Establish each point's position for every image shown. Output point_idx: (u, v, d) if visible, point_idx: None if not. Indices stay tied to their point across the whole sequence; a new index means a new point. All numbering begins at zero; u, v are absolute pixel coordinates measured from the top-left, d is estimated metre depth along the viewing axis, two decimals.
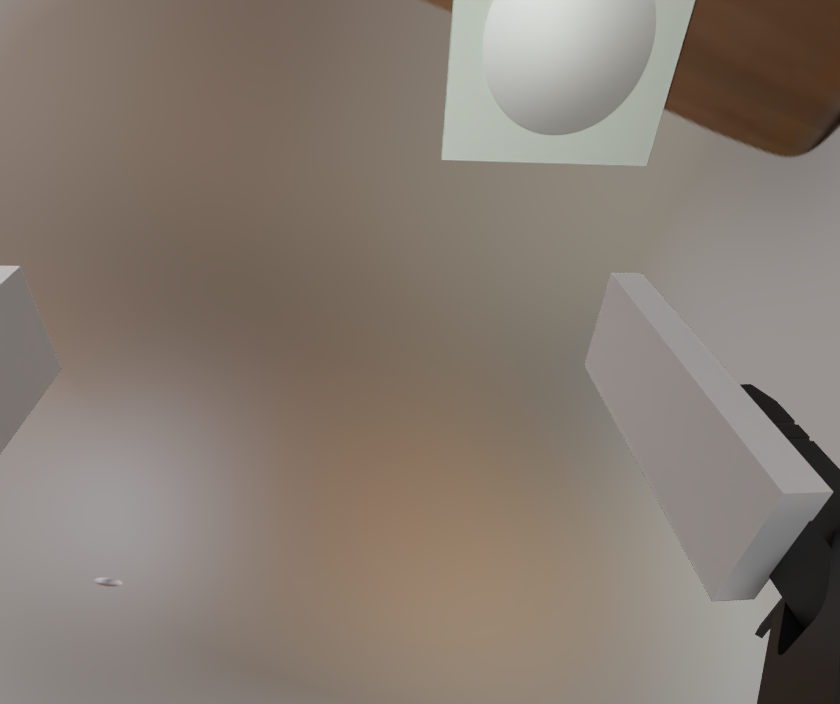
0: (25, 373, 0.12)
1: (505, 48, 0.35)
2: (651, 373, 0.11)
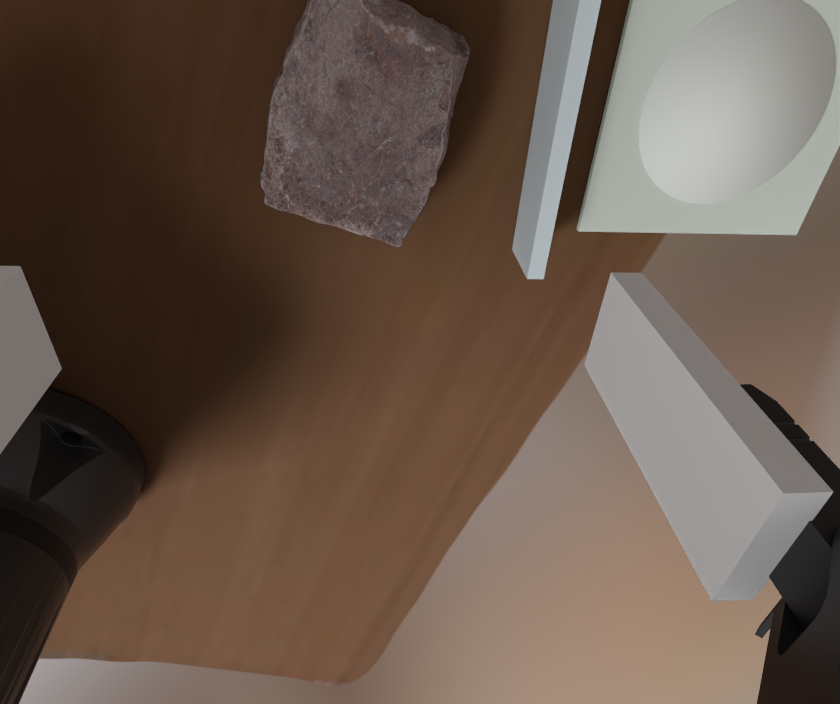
0: (25, 373, 0.12)
1: (716, 179, 0.34)
2: (651, 373, 0.11)
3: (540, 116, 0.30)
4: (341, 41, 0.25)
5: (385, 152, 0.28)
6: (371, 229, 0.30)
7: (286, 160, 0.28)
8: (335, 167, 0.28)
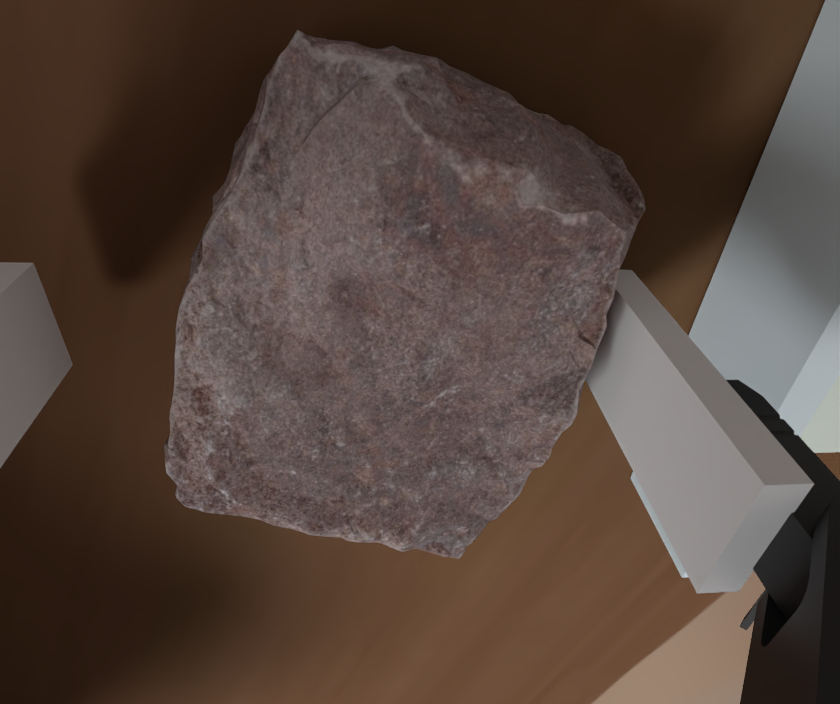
0: (38, 369, 0.12)
1: None
2: (639, 368, 0.11)
3: (738, 293, 0.14)
4: (346, 199, 0.10)
5: (440, 411, 0.13)
6: (404, 540, 0.14)
7: (220, 427, 0.12)
8: (329, 437, 0.13)
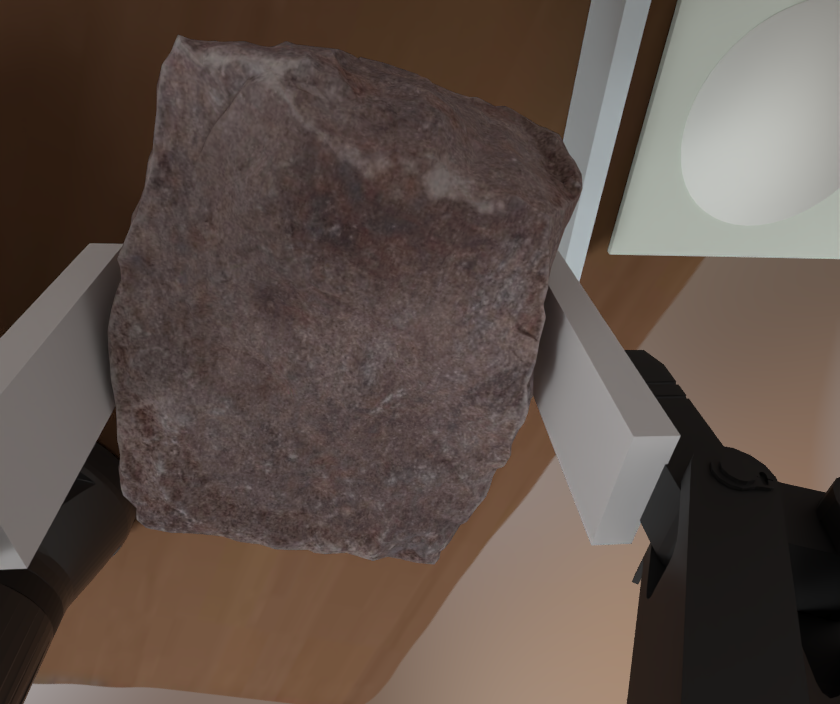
0: None
1: (764, 199, 0.31)
2: (553, 341, 0.12)
3: (573, 130, 0.27)
4: (249, 206, 0.09)
5: (389, 416, 0.12)
6: (372, 549, 0.14)
7: (169, 447, 0.12)
8: (281, 450, 0.13)
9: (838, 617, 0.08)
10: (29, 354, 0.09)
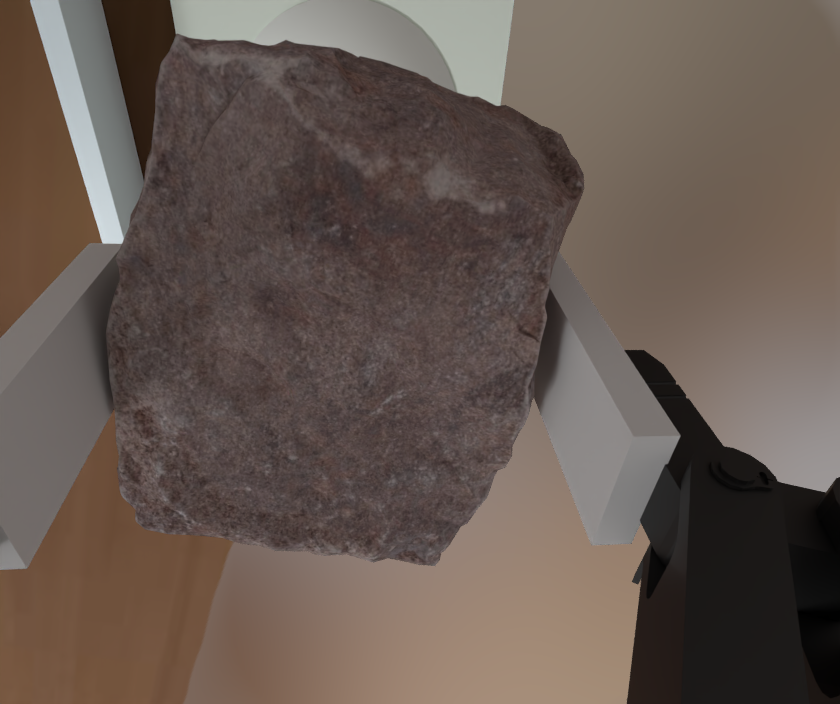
0: None
1: None
2: (553, 341, 0.12)
3: None
4: (249, 206, 0.09)
5: (390, 418, 0.12)
6: (373, 551, 0.14)
7: (168, 448, 0.12)
8: (280, 451, 0.12)
9: (838, 617, 0.08)
10: (29, 354, 0.09)
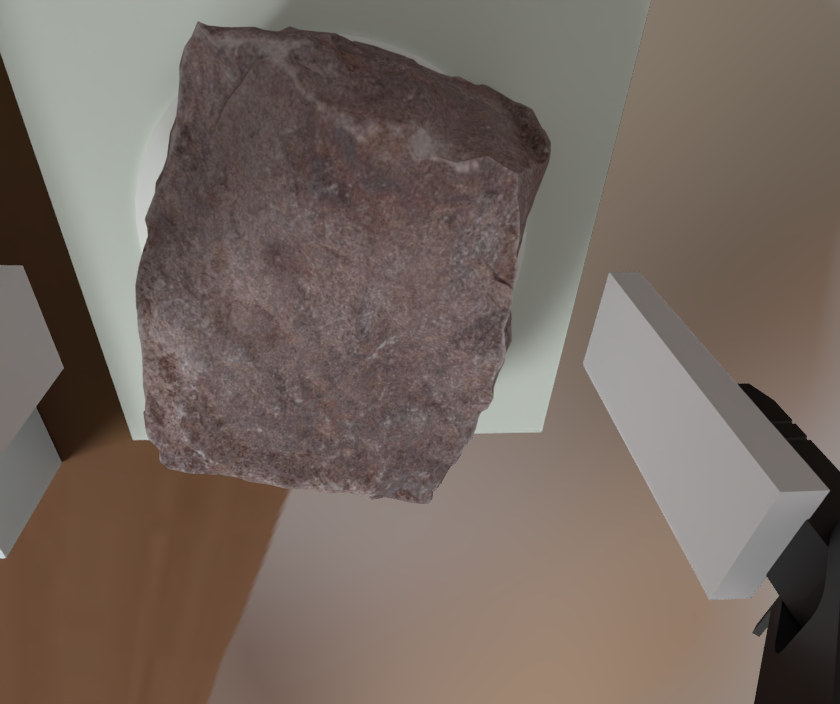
0: (27, 372, 0.12)
1: None
2: (649, 373, 0.11)
3: None
4: (259, 168, 0.11)
5: (384, 362, 0.14)
6: (371, 488, 0.15)
7: (188, 392, 0.14)
8: (287, 394, 0.14)
9: None
10: None
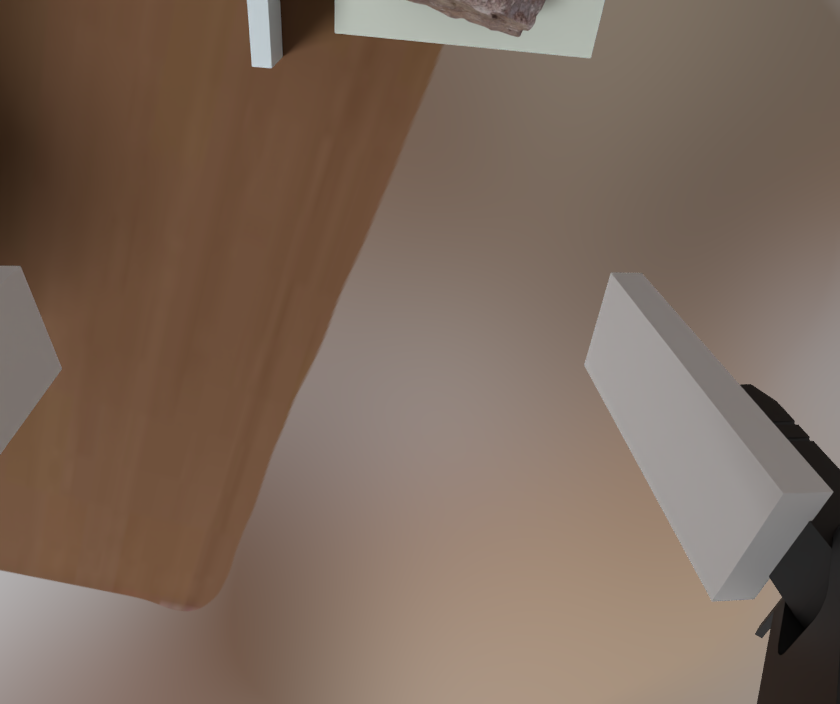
0: (25, 373, 0.12)
1: None
2: (651, 373, 0.11)
3: None
4: None
5: None
6: (503, 1, 0.27)
7: None
8: None
9: None
10: None
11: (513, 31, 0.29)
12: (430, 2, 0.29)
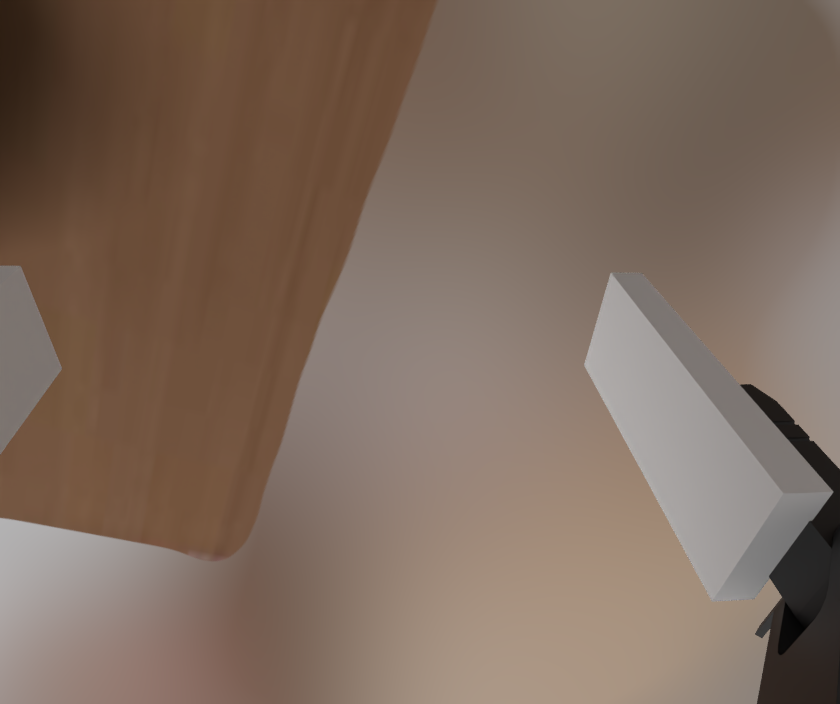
0: (25, 373, 0.12)
1: None
2: (651, 373, 0.11)
3: None
4: None
5: None
6: None
7: None
8: None
9: None
10: None
11: None
12: None
